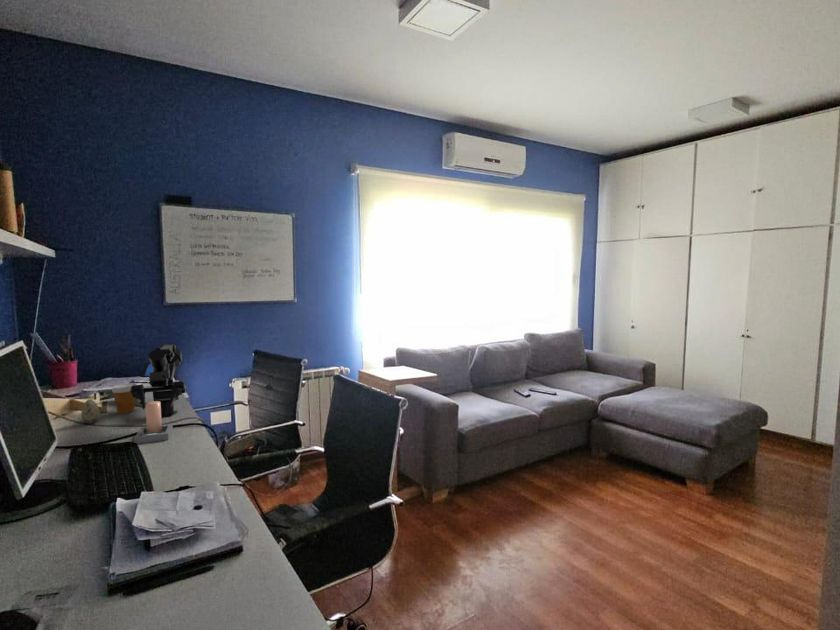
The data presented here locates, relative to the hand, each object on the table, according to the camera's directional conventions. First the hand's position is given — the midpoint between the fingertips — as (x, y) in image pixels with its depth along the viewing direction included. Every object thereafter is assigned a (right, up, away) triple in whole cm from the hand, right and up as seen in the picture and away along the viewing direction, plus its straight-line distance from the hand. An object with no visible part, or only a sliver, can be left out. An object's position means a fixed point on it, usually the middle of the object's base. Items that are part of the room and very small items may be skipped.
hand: (157, 407), depth 167 cm
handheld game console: (-54, -2, +81) cm, 97 cm away
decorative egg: (-33, -8, +9) cm, 35 cm away
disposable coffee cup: (-28, -7, +23) cm, 37 cm away
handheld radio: (-34, -6, +36) cm, 50 cm away
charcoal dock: (+3, -10, -7) cm, 12 cm away
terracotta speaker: (+3, -9, -7) cm, 12 cm away
